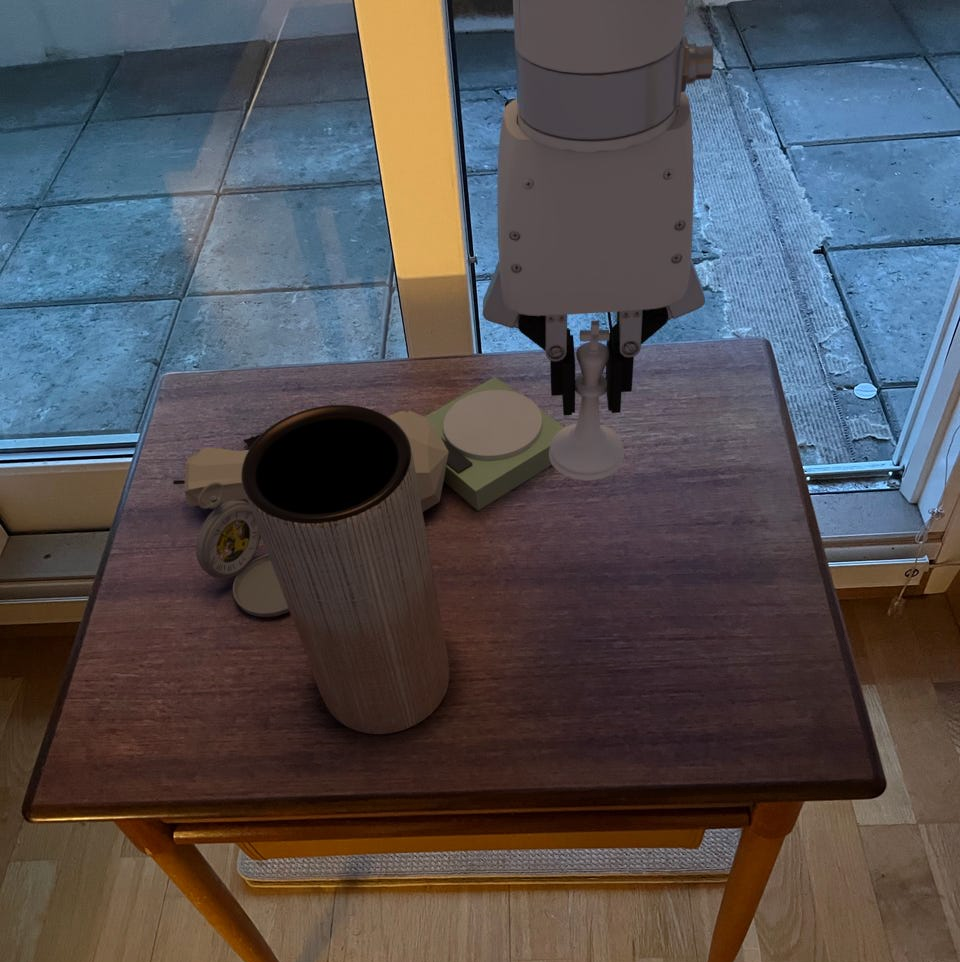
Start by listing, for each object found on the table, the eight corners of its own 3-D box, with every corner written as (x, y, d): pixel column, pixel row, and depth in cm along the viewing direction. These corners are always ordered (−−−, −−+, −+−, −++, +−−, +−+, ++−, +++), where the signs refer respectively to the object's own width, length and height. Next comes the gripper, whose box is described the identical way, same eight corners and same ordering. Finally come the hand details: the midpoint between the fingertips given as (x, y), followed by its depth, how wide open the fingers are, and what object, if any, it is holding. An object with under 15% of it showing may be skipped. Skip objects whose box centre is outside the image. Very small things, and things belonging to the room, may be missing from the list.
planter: (316, 740, 70) (228, 527, 52) (326, 633, 76) (250, 408, 58) (451, 732, 70) (409, 514, 52) (450, 625, 76) (412, 396, 58)
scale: (496, 396, 92) (494, 371, 90) (572, 452, 87) (572, 427, 84) (405, 449, 89) (400, 424, 86) (477, 511, 83) (475, 486, 81)
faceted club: (452, 529, 81) (172, 548, 84) (459, 482, 87) (200, 500, 90) (438, 433, 75) (139, 457, 78) (447, 391, 82) (172, 414, 85)
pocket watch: (309, 619, 77) (278, 534, 69) (208, 623, 78) (166, 539, 70) (320, 545, 82) (293, 458, 74) (225, 549, 83) (188, 463, 75)
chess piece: (547, 430, 64) (551, 298, 56) (621, 429, 64) (634, 297, 56) (549, 481, 61) (553, 350, 53) (626, 480, 61) (642, 348, 53)
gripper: (758, 35, 46) (712, 355, 60) (430, 60, 47) (463, 368, 61) (786, 107, 41) (729, 434, 56) (422, 133, 42) (460, 447, 57)
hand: (590, 397), depth 59 cm, fingers closed on chess piece
